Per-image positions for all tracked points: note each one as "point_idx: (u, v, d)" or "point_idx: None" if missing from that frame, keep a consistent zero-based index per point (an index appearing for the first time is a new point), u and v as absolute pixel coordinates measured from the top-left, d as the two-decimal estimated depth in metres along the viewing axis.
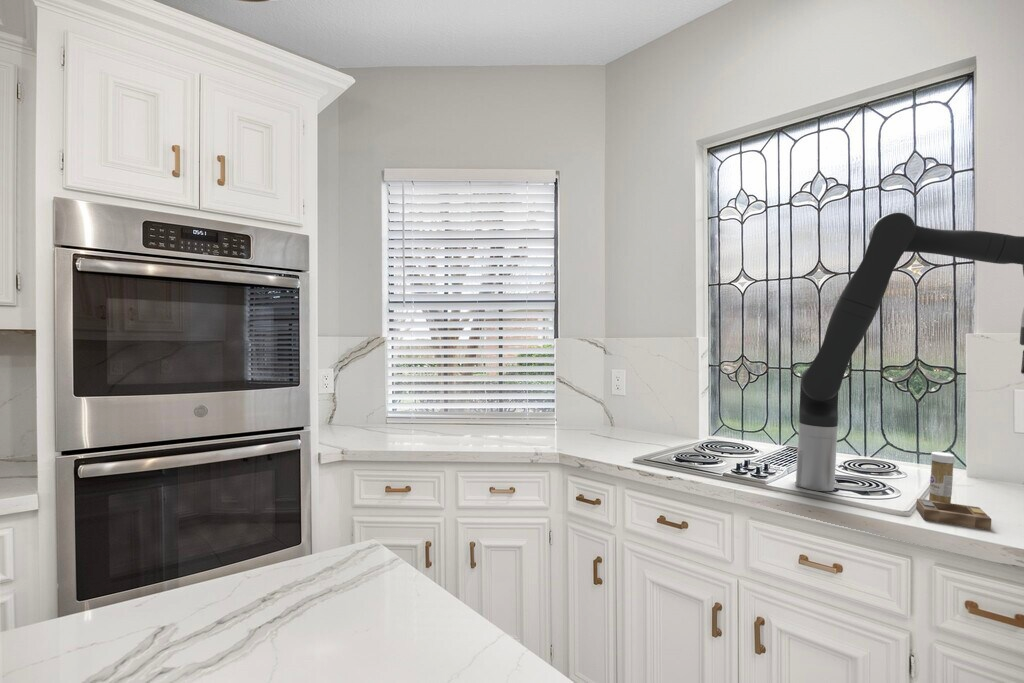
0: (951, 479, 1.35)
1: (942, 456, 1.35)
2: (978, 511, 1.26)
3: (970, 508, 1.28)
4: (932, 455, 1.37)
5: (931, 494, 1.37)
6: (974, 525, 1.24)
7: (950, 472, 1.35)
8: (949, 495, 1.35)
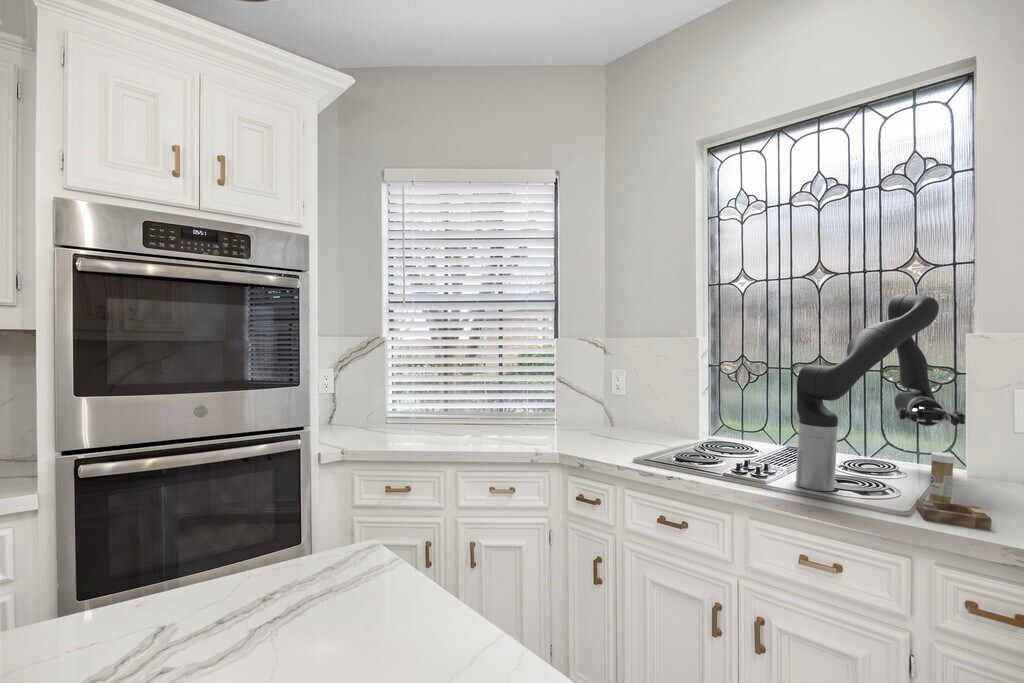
0: (951, 479, 1.35)
1: (942, 456, 1.35)
2: (978, 511, 1.26)
3: (970, 508, 1.28)
4: (932, 455, 1.37)
5: (931, 494, 1.37)
6: (974, 525, 1.24)
7: (950, 472, 1.35)
8: (949, 495, 1.35)
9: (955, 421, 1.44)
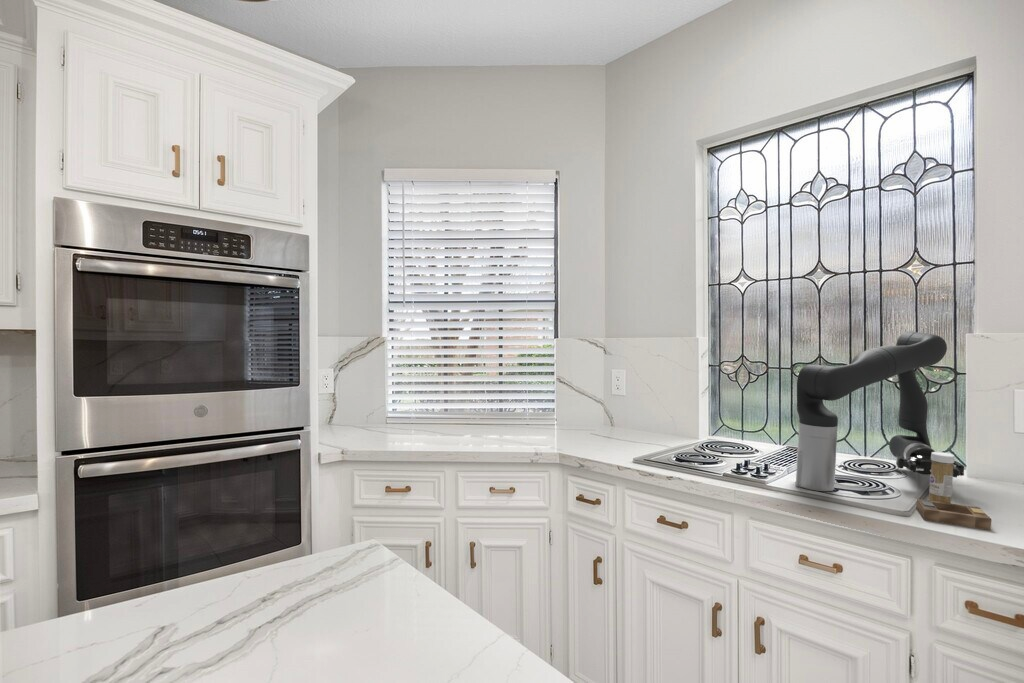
0: (951, 479, 1.35)
1: (942, 456, 1.35)
2: (978, 511, 1.26)
3: (970, 508, 1.28)
4: (932, 455, 1.37)
5: (931, 494, 1.37)
6: (974, 525, 1.24)
7: (950, 472, 1.35)
8: (949, 495, 1.35)
9: (955, 473, 1.41)
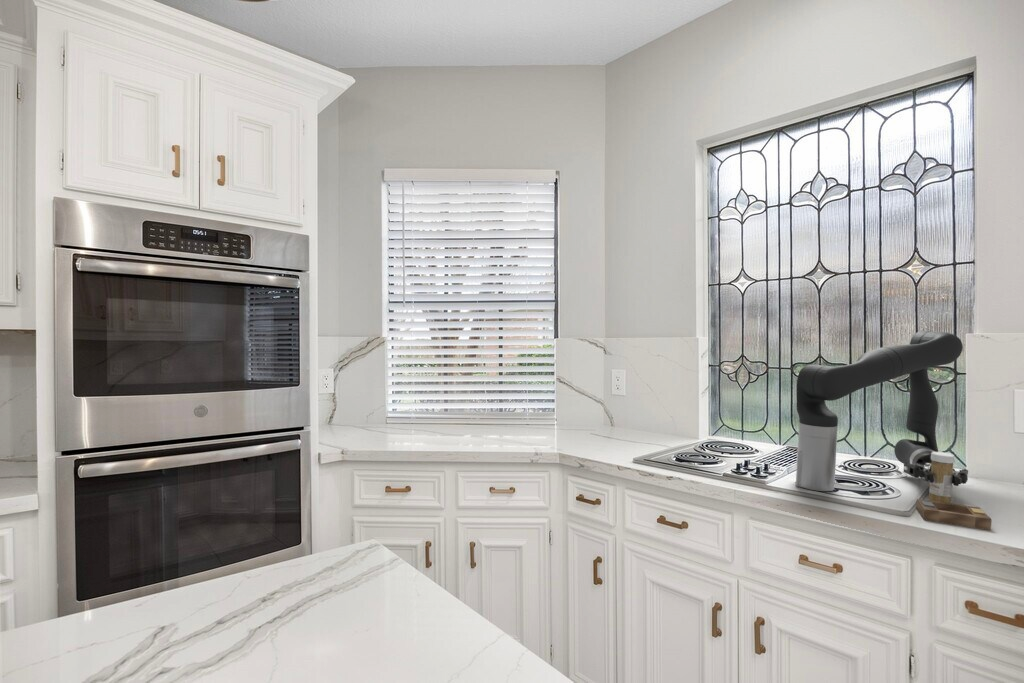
0: (951, 479, 1.35)
1: (942, 456, 1.35)
2: (978, 511, 1.26)
3: (970, 508, 1.28)
4: (932, 455, 1.37)
5: (931, 494, 1.37)
6: (974, 525, 1.24)
7: (950, 472, 1.35)
8: (949, 495, 1.35)
9: (956, 481, 1.33)
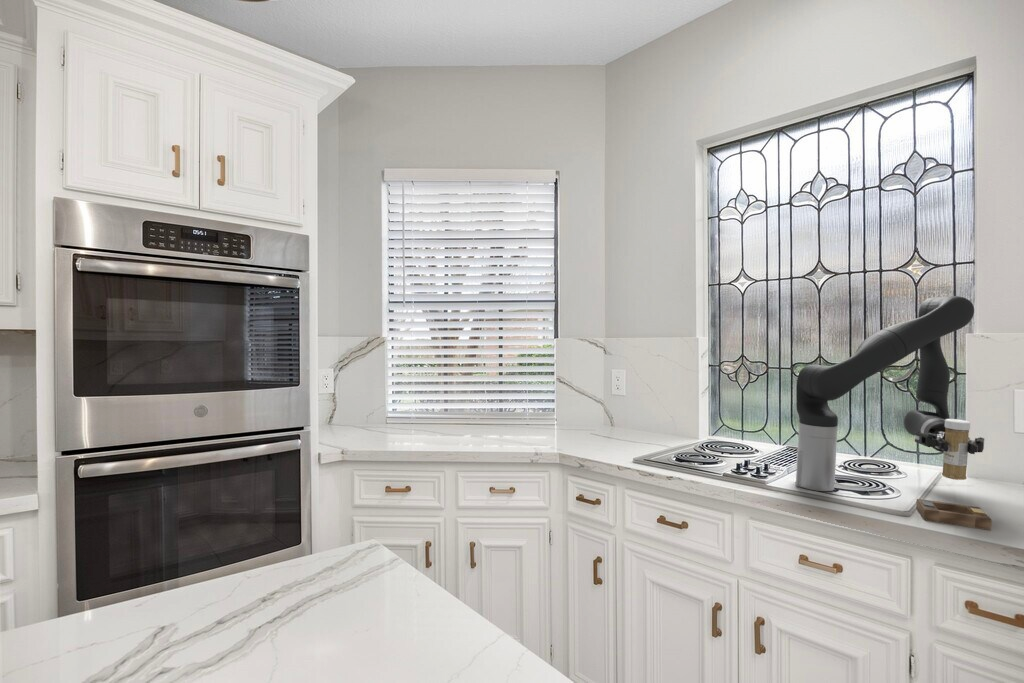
0: (966, 447, 1.27)
1: (957, 423, 1.26)
2: (978, 511, 1.26)
3: (970, 508, 1.28)
4: (946, 422, 1.29)
5: (945, 464, 1.29)
6: (974, 525, 1.24)
7: (965, 440, 1.26)
8: (964, 464, 1.27)
9: (972, 449, 1.25)
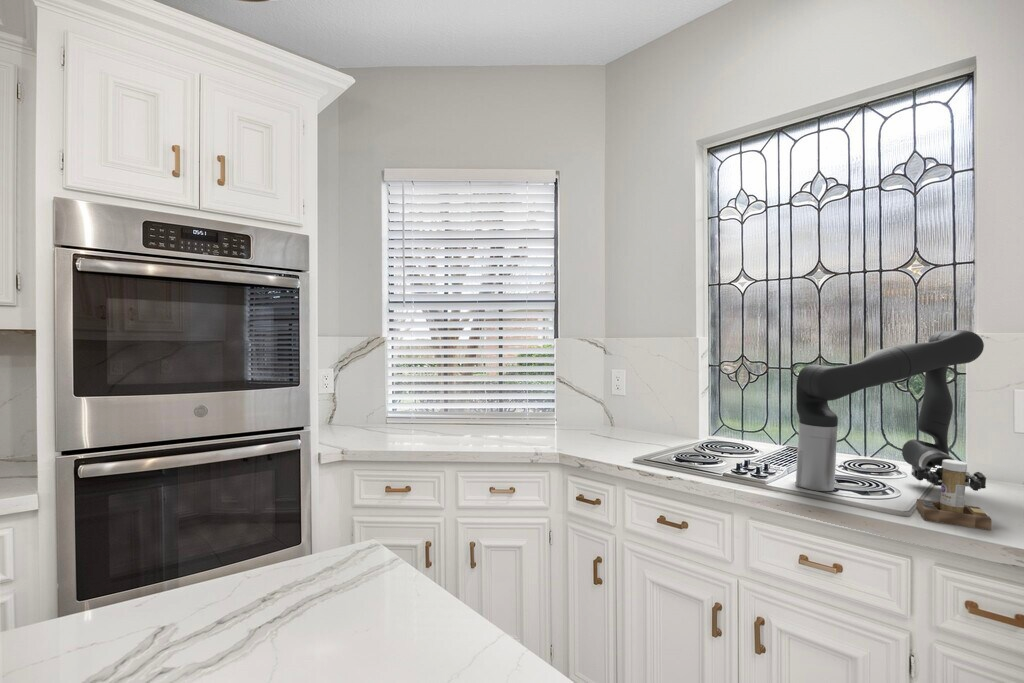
0: (964, 489, 1.27)
1: (954, 464, 1.27)
2: (978, 511, 1.26)
3: (970, 508, 1.28)
4: (943, 463, 1.29)
5: (942, 504, 1.29)
6: (974, 525, 1.24)
7: (963, 481, 1.27)
8: (961, 506, 1.27)
9: (976, 486, 1.25)
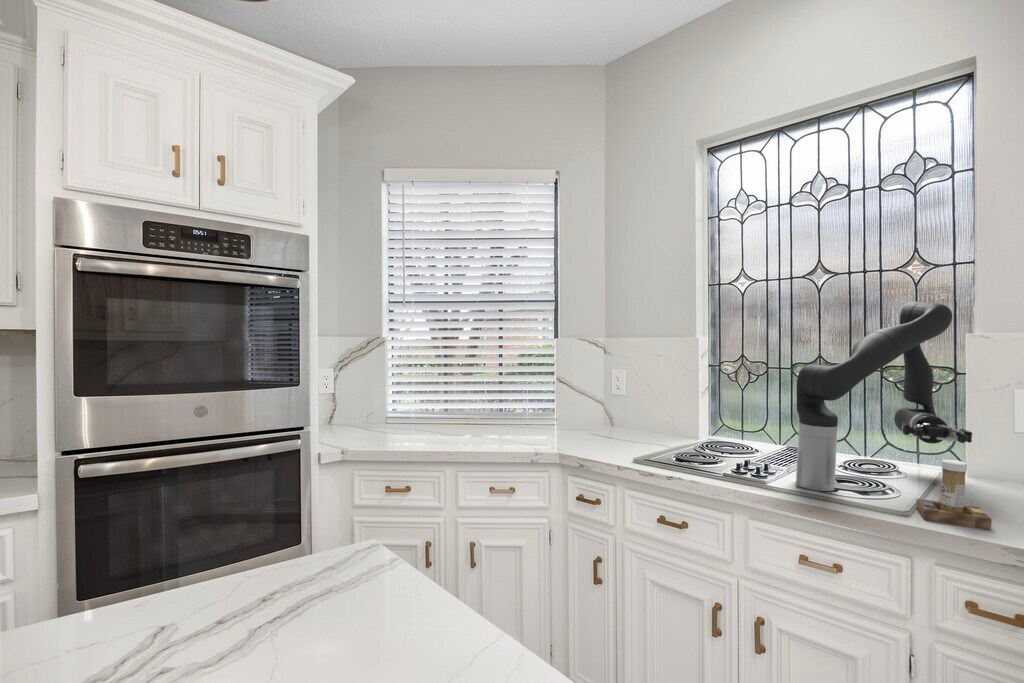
0: (963, 489, 1.27)
1: (954, 464, 1.27)
2: (978, 511, 1.26)
3: (970, 508, 1.28)
4: (943, 463, 1.29)
5: (942, 504, 1.29)
6: (974, 525, 1.24)
7: (962, 481, 1.27)
8: (961, 506, 1.27)
9: (962, 438, 1.37)
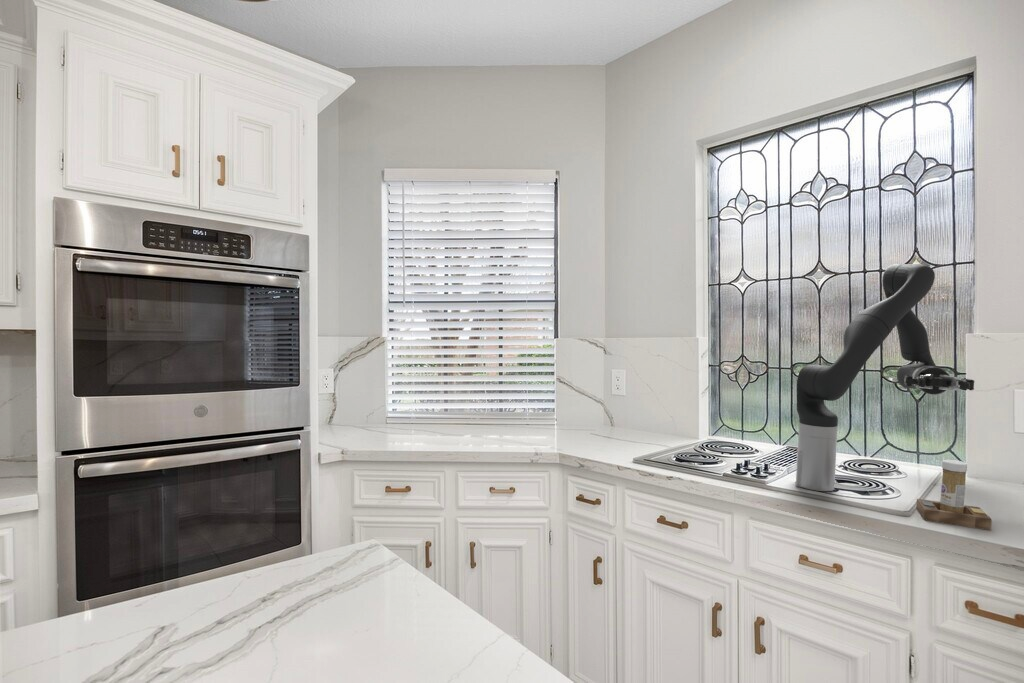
0: (964, 489, 1.27)
1: (954, 464, 1.27)
2: (978, 511, 1.26)
3: (970, 508, 1.28)
4: (943, 463, 1.29)
5: (942, 504, 1.29)
6: (974, 525, 1.24)
7: (963, 481, 1.27)
8: (961, 506, 1.27)
9: (965, 386, 1.39)
